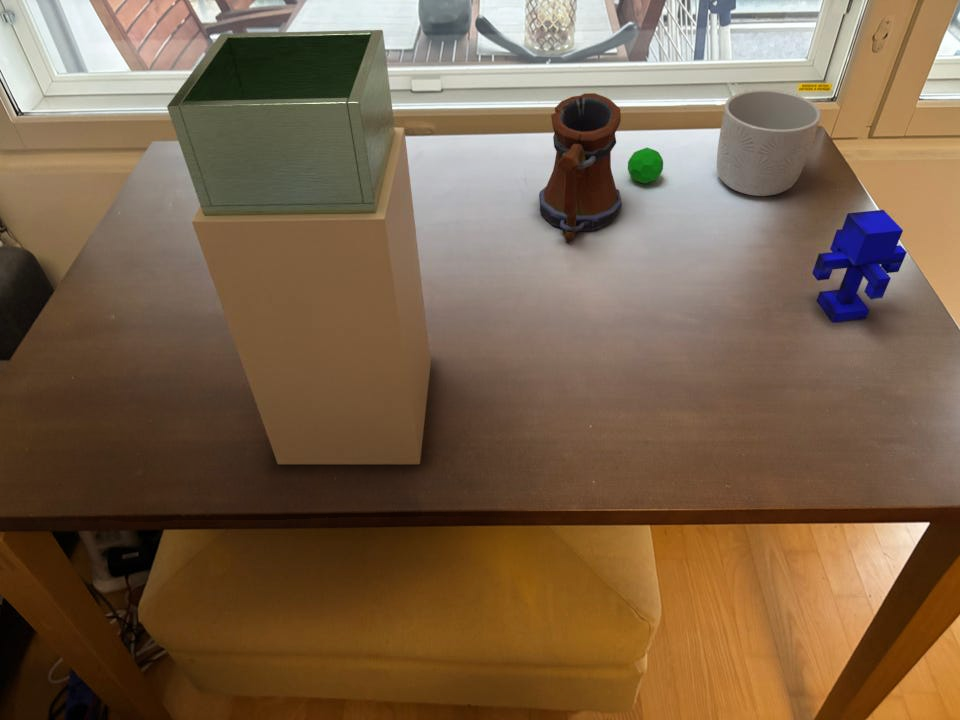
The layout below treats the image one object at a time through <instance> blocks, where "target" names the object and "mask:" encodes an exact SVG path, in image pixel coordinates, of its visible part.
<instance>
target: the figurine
mask: <svg viewBox="0 0 960 720" xmlns="http://www.w3.org/2000/svg"><path fill="white" fill-rule="evenodd" d="M903 232H904V230H903V228H902V227H901V226H900V225H899V224H897V222H896V221H895V220H894V219H893V218H892V217H891V216H890V215H889V214H888V213H887V212H886V211H885V210H884V209H876V210H867V211H866V210H865V211H856V212H847V213H846V217H845V219H844V222H843V224H842V228H841V229H836V231H835V234H834V236H833V239H832V243H831V245H830V248H829V250H830V251H829V252H821V253H820V252H819V253H818V255H817V258H816V260H815V264H814V267H813V269H812V273H811V274H812V276H814V278H815V279H816V281H826V280H830V279H831V275H832V273H833V271H834V270H842V269H846V270H845V273H844V275H843V278H842V281H841V283H840V286H839V288H838V289H831V290H823V291H819V292H818V294H817V298H816V302H817V303H818V305H819V306H820V308H821V309H822V310H823V312H824V313H825V315H826V316H827V317H828V319H829V320H830V321H831V323H838V322H839V323H840V322H848V321H858V320H866V319H867V317H868V314H869V312H870V308H869V307H868V306H867V305H866V303H865V302H864V300H862V298H861V296H860V295H859V294H858V292H859V289H860V285H861V284H862V281H863V278H864V279H865V280H866V281H867V284H866V286H865V288H864V290H863V292H864V294H865V295H866V296H867V297H868V299H869V300H878V299H883V298H884V295H885V293H886V290H887V288H888V286H889V283H890V282H891V279H892V277H891V276H890V275H889V274H891V273H893V274H894V273H899V271H900V269H901V267H902V264H903V262H904V260H905V258H906V256H907V253H908V252H907V251H906V249H905V248H904V247H903V246H902V245H900V244H899V241H900V239H901V237H902V234H903ZM898 244H899V245H898Z"/></svg>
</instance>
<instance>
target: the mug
mask: <svg viewBox="0 0 960 720" xmlns="http://www.w3.org/2000/svg"><path fill="white" fill-rule="evenodd" d="M554 111H555V112H554V113H552V114H550V118H551V125H552V129H553V132H554V133H553V136H552V139H553V140H552V141H553V147H554V150H555V151H556V153H555V159H554V164H553V169H552V173H551V175H550V176H549V179H548V181H547V184H546V186H545V187H543V188H542V189H541V190H540V191H539V194H538V200H539V210H540V211H539V212H540V215H541V217H543V218H544V219H545V220H546V221H547V222H548V223H550V225H552V226H554V227H558V228H561V229H563V230H564V231H565V233H564V240H565V241H567V242H571V241H572V240H573V239H574V237H575V235H576V234H577V232H578V231H581V232H582V231H583V232H584V231H596V230H598V229H600V228H602V227H605V226H607V225H609V224H610V223H612V222H613V220H614V219H615V217H616V216H617V214H618V213H619V212H620V211H621V209H622V206H623V203H622V197H621V192H620V190H619V189H618V188H617V186H616V183H615V180H614V179H615V178H614V175H613V171H612V166H611V165H612V164H611V163H612V162H611V161H612V156H611V155H612V154H611V153H612V151H613V149H614V147H615V146H616V144H617V139H616V133H617V130H618V128H619V127H620V125H621V121H622V118H621V108H620V107H619V106H618V105H617V104H615V102H614V101H612V100H611V99H610V98H608V97H606V96H604V95H601V94H598V93H595V92H594V93H593V92H591V93H587V92H586V93H583V94H581V95H574V96H571V97H568V98H566V99H564V100H561V101H560V102H559V103H558V104H557V106H555V108H554Z"/></svg>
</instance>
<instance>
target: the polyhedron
mask: <svg viewBox="0 0 960 720" xmlns="http://www.w3.org/2000/svg"><path fill="white" fill-rule="evenodd" d="M663 170H664V160H663V157H662V156H661V153H660V152H659V151H657V150H656V149H652V148H650V147H644V148H641V149H639V150H636V151H634V152H633V153H632V155H631V156H630V158H629V159H628V161H627V171H628V174H629V175H630V177H631V179H632V180H634V181H636V182H638V183H642V184H647V183H650V182H653V181H655V180H658V178H659V176H661V174H662V173H663Z"/></svg>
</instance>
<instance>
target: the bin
mask: <svg viewBox="0 0 960 720" xmlns="http://www.w3.org/2000/svg"><path fill="white" fill-rule="evenodd" d="M166 109H167V112H168V114H169V118H170V119H171V123H172V126H173V129H174V132H175V134H176V138H177V141H178V144H179V147H180V149H181V152H182V155H183V159H184V161H185V164H186V167H187V170H188V174H189V176H190V179H191V182H192V185H193V188H194V191H195V195H196V197H197V200H198V203H199V207H198V209H197V211H196V213H195V215H194V217H193V218H192V220H191V224H192V226H193V229H194V233H195V235H196V238H197V240H198V243H199V247H200V249H201V252H202V255H203V257H204V260H205V263H206V266H207V268H208V272H209V274H210V277H211V280H212V283H213V285H214V289H215V291H216V295H217V297H218V299H219V302H220V306H221V308H222V311H223V314H224V317H225V319H226V322H227V325H228V328H229V330H230V333H231V336H232V339H233V342H234V345H235V348H236V350H237V351H236V352H237V353H238V355H239V359H240V362H241V365H242V368H243V370H244V373H245V375H246V378H247V382H248V385H249V387H250V390H251V393H252V395H253V399H254V401H255V404H256V407H257V411H258V412H259V416H260V418H261V420H262V424H263V427H264V429H265V433H266V435H267V438H268V441H269V443H270V446H271V450H272V452H273V455H274V458H275V460H276V463H277V465H421V457H422V450H423V449H422V447H423V439H424V431H425V429H424V428H425V420H426V411H427V400H428V392H429V383H430V373H431V355H430V347H429V337H428V328H427V319H426V311H425V301H424V291H423V283H422V275H421V266H420V257H419V249H418V239H417V230H416V220H415V212H414V203H413V195H412V194H413V192H412V185H411V176H410V166H409V159H408V151H407V150H408V148H407V140H406V130H405V127H401V126H400V127H396V126H395V119H394V118H395V117H394V111H393V103H392V94H391V86H390V78H389V68H388V62H387V53H386V46H385V36H384V31H383V30H382V29H361V30H360V29H358V30H357V29H356V30H319V31H318V30H317V31H316V30H315V31H280V32H279V31H277V32H241V33H240V32H239V33H235V32H234V33H220V34H219V35H218V36H217V38H216V39H215V40H214V42H213V44H212V45H211V46H210V47H209V49H208V50H207V51H206V53H205V54H204V56H203V57H202V58H201V60H200V61H199V62H198V64H197V65H196V66H195V68H194V69H193V70H192V72H191V73H190V74H189V76H188V77H187V79H186V80H185V81H184V83H183V84H182V85H181V87H180V88H179V89H178V91H177V92H176V94H175V95H174V96H173V97H172V99H171V100H170V102H169V103H168V104H167V105H166Z"/></svg>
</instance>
